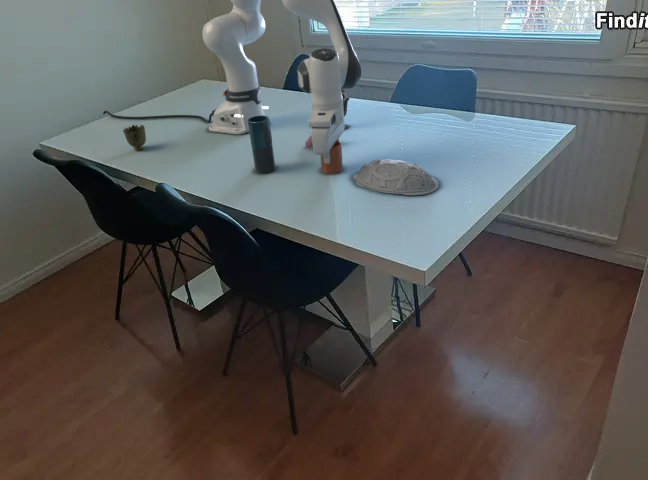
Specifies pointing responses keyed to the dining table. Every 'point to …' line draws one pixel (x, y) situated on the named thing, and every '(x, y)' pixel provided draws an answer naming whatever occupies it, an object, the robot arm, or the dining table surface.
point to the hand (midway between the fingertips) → (331, 157)
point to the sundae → (345, 104)
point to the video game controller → (309, 142)
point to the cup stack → (261, 144)
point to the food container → (395, 177)
